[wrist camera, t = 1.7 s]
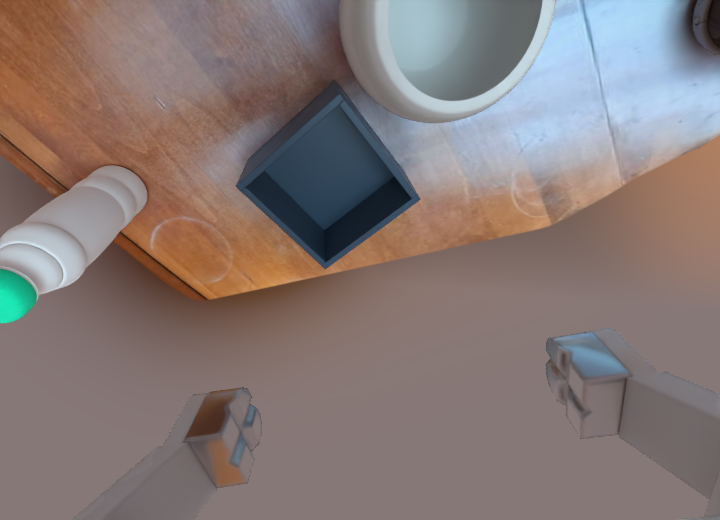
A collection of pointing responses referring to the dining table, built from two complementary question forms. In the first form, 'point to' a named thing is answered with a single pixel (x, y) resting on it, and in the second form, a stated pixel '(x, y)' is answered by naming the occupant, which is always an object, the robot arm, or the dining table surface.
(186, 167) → the dining table surface
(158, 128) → the dining table surface
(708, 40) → the flowerpot
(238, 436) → the robot arm
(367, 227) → the bin
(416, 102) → the planter
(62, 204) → the water bottle
